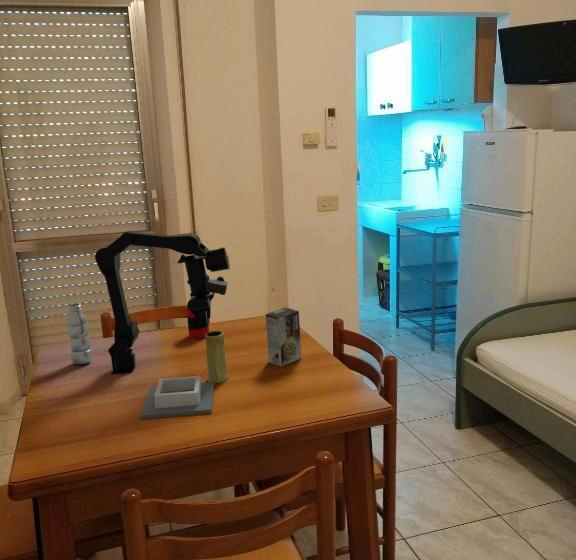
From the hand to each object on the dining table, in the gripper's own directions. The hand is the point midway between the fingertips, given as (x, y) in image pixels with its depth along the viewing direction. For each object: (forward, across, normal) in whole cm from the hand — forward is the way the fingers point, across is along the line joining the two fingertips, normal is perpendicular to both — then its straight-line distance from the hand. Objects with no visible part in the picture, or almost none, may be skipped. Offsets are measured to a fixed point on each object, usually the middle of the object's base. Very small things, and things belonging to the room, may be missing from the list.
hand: (207, 322), depth 173 cm
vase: (+15, -12, -2) cm, 19 cm away
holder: (+13, -26, +7) cm, 30 cm away
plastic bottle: (+9, +8, +44) cm, 46 cm away
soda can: (+13, +30, +9) cm, 35 cm away
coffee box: (+17, +1, -22) cm, 28 cm away
